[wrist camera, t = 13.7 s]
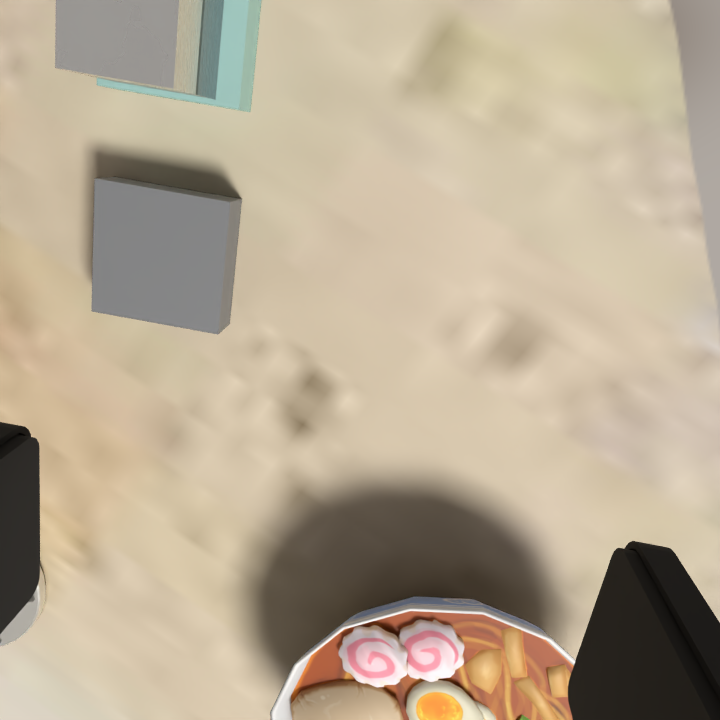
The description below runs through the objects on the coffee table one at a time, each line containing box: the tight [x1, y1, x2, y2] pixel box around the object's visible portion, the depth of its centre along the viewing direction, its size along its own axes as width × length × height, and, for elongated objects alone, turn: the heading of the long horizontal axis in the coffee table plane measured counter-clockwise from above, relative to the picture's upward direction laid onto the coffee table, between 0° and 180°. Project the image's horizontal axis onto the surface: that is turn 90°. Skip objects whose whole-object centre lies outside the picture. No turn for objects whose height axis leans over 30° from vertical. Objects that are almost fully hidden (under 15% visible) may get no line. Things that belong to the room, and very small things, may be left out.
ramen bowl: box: [270, 596, 576, 720], centre depth 44 cm, size 25×23×8 cm
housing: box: [55, 0, 224, 100], centre depth 30 cm, size 7×6×6 cm
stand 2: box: [92, 177, 242, 334], centre depth 39 cm, size 8×8×2 cm
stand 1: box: [97, 0, 261, 112], centre depth 34 cm, size 8×8×2 cm
